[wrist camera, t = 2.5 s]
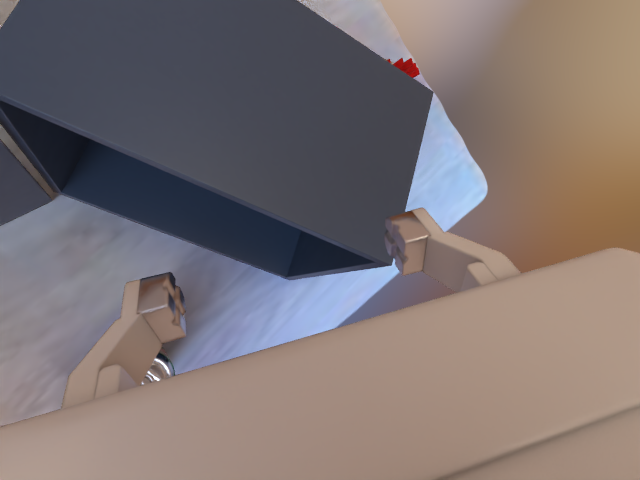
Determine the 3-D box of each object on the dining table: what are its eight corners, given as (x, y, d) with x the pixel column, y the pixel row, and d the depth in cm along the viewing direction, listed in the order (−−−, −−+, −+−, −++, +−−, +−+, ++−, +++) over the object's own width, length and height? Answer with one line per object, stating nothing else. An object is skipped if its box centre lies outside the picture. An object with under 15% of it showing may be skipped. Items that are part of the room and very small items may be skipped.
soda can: (139, 395, 43) (139, 425, 32) (108, 363, 42) (98, 383, 32) (176, 362, 45) (187, 380, 35) (147, 331, 44) (150, 340, 34)
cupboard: (290, 280, 53) (391, 265, 32) (53, 191, 43) (-36, 79, 21) (325, 169, 58) (433, 91, 37) (121, 65, 48) (106, -128, 26)
